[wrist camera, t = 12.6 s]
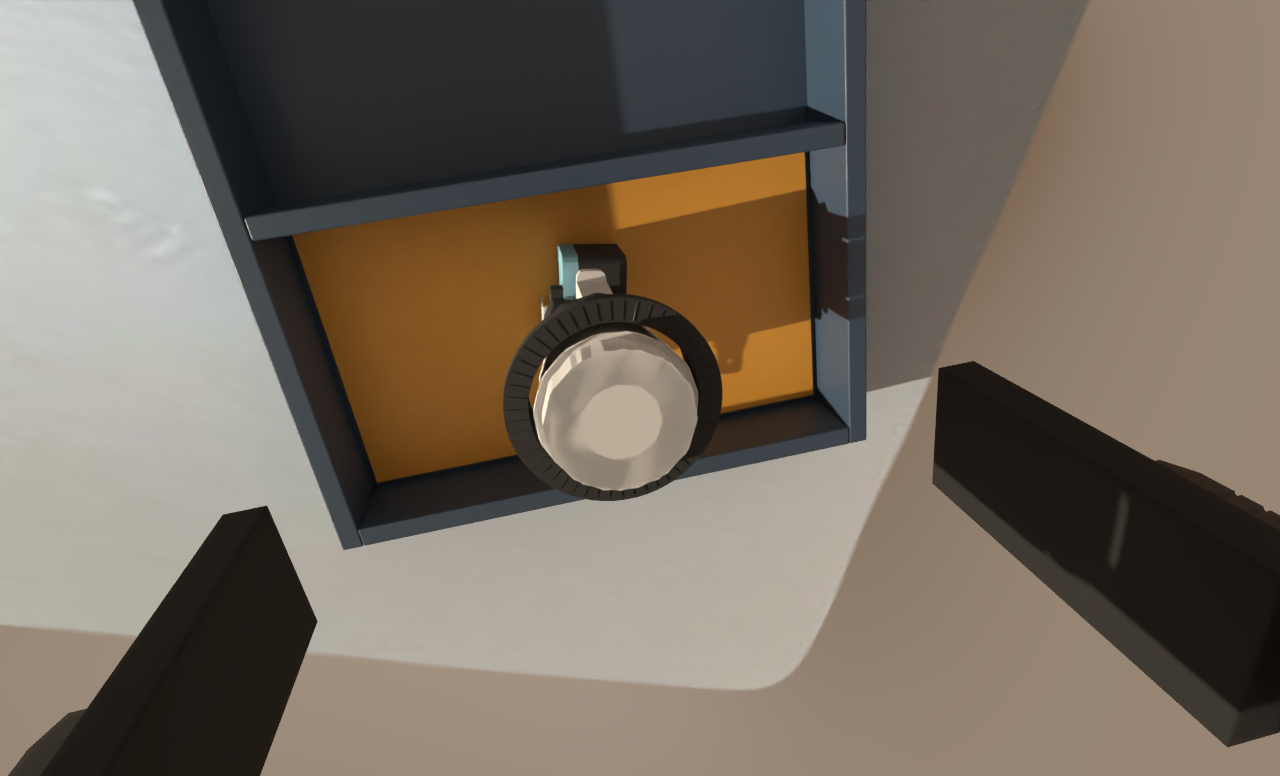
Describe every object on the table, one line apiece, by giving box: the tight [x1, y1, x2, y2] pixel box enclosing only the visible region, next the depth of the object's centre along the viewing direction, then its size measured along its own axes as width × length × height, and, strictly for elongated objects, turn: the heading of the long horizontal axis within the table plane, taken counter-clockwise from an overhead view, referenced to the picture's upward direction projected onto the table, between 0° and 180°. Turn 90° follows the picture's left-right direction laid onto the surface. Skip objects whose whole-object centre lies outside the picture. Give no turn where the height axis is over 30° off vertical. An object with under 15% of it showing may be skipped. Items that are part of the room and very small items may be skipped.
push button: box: [503, 244, 723, 501], centre depth 20 cm, size 7×5×10 cm
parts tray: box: [132, 0, 866, 550], centre depth 21 cm, size 19×22×4 cm
